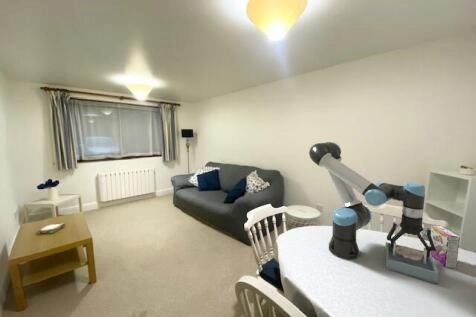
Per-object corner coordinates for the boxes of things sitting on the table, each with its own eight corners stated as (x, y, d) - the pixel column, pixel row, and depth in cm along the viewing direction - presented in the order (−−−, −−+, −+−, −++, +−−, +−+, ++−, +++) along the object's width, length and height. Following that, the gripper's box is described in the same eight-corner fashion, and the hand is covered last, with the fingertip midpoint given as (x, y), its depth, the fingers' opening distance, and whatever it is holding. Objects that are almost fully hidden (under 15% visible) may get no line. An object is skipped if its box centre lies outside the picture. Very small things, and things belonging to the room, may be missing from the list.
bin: (385, 268, 96) (386, 259, 95) (385, 250, 110) (385, 242, 110) (437, 284, 85) (438, 273, 85) (429, 261, 100) (430, 252, 99)
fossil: (417, 261, 91) (395, 244, 98) (410, 270, 94) (389, 252, 102) (428, 255, 94) (406, 238, 101) (421, 263, 97) (400, 246, 105)
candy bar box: (427, 253, 106) (430, 225, 104) (438, 254, 105) (441, 225, 103) (444, 267, 95) (448, 235, 93) (457, 268, 94) (460, 236, 92)
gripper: (382, 213, 98) (379, 254, 101) (448, 224, 85) (443, 271, 88) (382, 208, 104) (379, 246, 107) (444, 217, 91) (439, 262, 94)
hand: (408, 257), depth 97 cm, fingers closed on fossil, 11 cm apart
